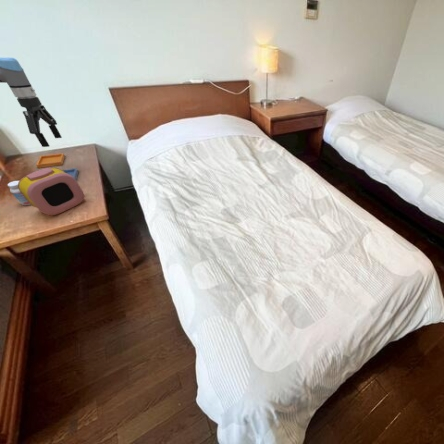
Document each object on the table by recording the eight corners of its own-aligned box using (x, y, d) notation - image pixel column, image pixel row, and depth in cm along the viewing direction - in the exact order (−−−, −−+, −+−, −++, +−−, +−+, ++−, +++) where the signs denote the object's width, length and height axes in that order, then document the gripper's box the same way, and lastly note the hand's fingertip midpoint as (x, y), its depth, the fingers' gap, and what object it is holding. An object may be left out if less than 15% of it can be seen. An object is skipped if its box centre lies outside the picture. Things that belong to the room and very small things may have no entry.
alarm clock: (48, 220, 116) (20, 186, 102) (36, 211, 119) (7, 177, 106) (89, 200, 128) (69, 167, 115) (77, 193, 131) (56, 160, 118)
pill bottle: (27, 207, 121) (11, 188, 113) (18, 203, 122) (1, 185, 114) (40, 200, 125) (25, 181, 117) (31, 197, 126) (16, 178, 119)
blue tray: (50, 185, 134) (48, 182, 133) (54, 174, 141) (52, 171, 140) (76, 181, 139) (74, 178, 137) (78, 171, 146) (76, 168, 144)
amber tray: (38, 168, 145) (36, 165, 143) (42, 159, 152) (40, 155, 151) (62, 165, 149) (60, 161, 148) (65, 156, 156) (63, 153, 155)
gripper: (21, 102, 107) (49, 149, 119) (49, 92, 126) (71, 134, 138) (-1, 102, 105) (30, 151, 118) (31, 92, 124) (55, 135, 137)
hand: (52, 142), depth 128 cm, fingers open, 13 cm apart
